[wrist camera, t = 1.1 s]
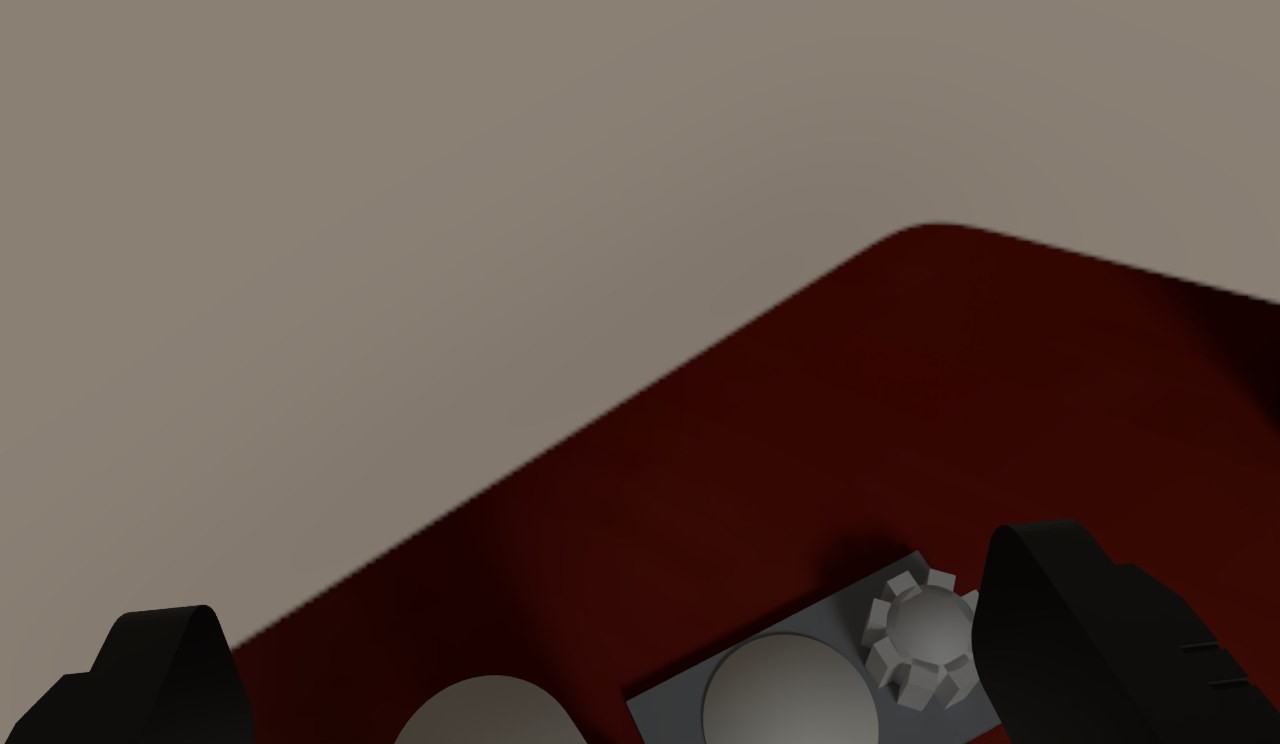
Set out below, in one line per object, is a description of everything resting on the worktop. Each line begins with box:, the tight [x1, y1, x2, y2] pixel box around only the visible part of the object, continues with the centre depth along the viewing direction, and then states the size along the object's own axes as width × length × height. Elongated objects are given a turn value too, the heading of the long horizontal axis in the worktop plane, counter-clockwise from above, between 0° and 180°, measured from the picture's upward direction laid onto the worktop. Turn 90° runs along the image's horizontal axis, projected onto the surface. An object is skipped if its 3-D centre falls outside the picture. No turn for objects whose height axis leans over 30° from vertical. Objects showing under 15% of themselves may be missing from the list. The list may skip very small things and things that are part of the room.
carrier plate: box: [626, 550, 1001, 744], centre depth 30 cm, size 12×6×3 cm, turn 116°
